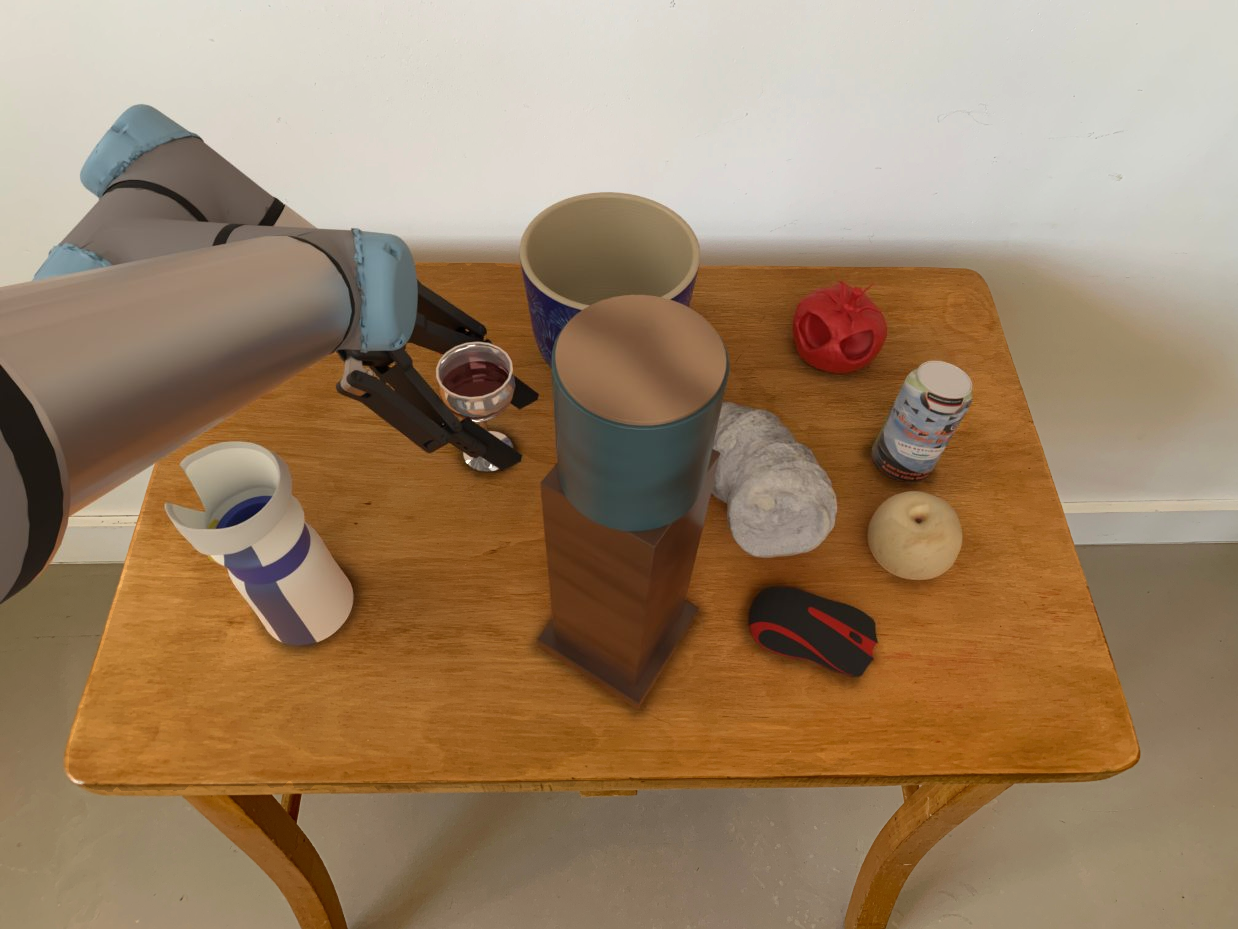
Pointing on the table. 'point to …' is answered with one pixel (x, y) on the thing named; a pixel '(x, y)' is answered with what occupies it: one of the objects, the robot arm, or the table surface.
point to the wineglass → (477, 387)
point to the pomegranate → (838, 328)
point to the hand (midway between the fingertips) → (520, 431)
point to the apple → (915, 535)
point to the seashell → (770, 485)
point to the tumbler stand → (629, 485)
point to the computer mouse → (813, 629)
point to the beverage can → (922, 421)
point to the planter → (603, 258)
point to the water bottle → (264, 541)
